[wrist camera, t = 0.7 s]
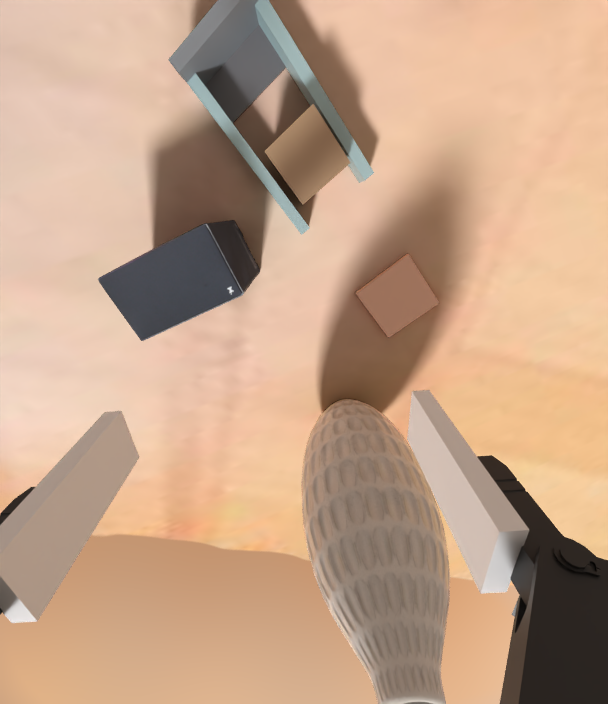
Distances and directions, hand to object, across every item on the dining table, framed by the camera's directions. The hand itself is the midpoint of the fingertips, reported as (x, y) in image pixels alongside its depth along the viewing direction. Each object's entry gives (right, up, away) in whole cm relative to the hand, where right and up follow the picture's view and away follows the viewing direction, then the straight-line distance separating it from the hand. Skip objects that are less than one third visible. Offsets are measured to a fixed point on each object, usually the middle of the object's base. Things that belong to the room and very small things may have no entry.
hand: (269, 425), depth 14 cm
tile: (+12, +10, +22) cm, 27 cm away
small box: (-9, +13, +21) cm, 26 cm away
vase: (+8, -6, +29) cm, 31 cm away
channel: (0, +24, +15) cm, 28 cm away
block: (+2, +22, +17) cm, 27 cm away
